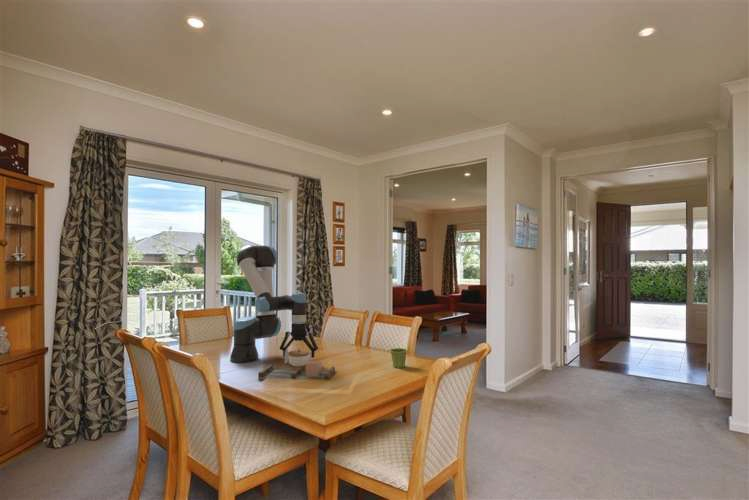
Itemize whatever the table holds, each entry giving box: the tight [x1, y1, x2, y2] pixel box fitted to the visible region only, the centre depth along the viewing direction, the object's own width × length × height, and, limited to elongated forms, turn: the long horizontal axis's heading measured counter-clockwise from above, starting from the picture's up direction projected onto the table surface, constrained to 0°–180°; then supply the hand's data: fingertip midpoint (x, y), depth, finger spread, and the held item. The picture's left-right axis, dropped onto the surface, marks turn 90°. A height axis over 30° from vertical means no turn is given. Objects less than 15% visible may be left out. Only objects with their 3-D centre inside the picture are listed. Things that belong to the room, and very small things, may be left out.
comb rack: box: [257, 364, 336, 381], centre depth 197 cm, size 15×33×4 cm, turn 83°
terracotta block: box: [305, 359, 322, 376], centre depth 196 cm, size 6×6×6 cm
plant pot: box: [389, 347, 409, 369], centre depth 216 cm, size 9×9×9 cm
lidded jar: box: [288, 348, 310, 367], centre depth 215 cm, size 11×11×9 cm
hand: (298, 363), depth 215 cm, fingers open, 13 cm apart
